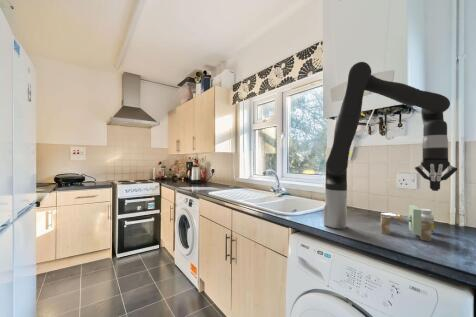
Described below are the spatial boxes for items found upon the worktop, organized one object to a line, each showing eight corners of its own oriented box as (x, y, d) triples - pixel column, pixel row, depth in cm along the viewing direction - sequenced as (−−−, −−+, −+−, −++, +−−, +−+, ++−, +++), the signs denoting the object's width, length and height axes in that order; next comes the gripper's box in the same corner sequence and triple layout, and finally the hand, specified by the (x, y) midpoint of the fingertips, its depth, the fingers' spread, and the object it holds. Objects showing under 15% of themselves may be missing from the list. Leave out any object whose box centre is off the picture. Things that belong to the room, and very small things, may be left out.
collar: (413, 234, 84) (413, 209, 84) (408, 228, 92) (408, 205, 92) (421, 235, 83) (421, 210, 83) (415, 229, 91) (416, 205, 91)
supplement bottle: (417, 229, 98) (417, 207, 98) (433, 231, 94) (433, 209, 95) (417, 231, 94) (417, 209, 94) (434, 234, 90) (434, 211, 90)
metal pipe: (381, 219, 92) (381, 213, 92) (380, 217, 95) (381, 211, 95) (429, 225, 84) (430, 218, 84) (428, 223, 86) (428, 217, 86)
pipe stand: (381, 233, 91) (381, 216, 91) (380, 229, 96) (380, 214, 96) (430, 241, 83) (431, 223, 83) (427, 236, 88) (427, 219, 88)
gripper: (415, 147, 85) (415, 190, 85) (461, 146, 78) (461, 193, 78) (412, 148, 91) (411, 188, 91) (454, 147, 85) (454, 191, 84)
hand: (434, 190), depth 85 cm, fingers closed
